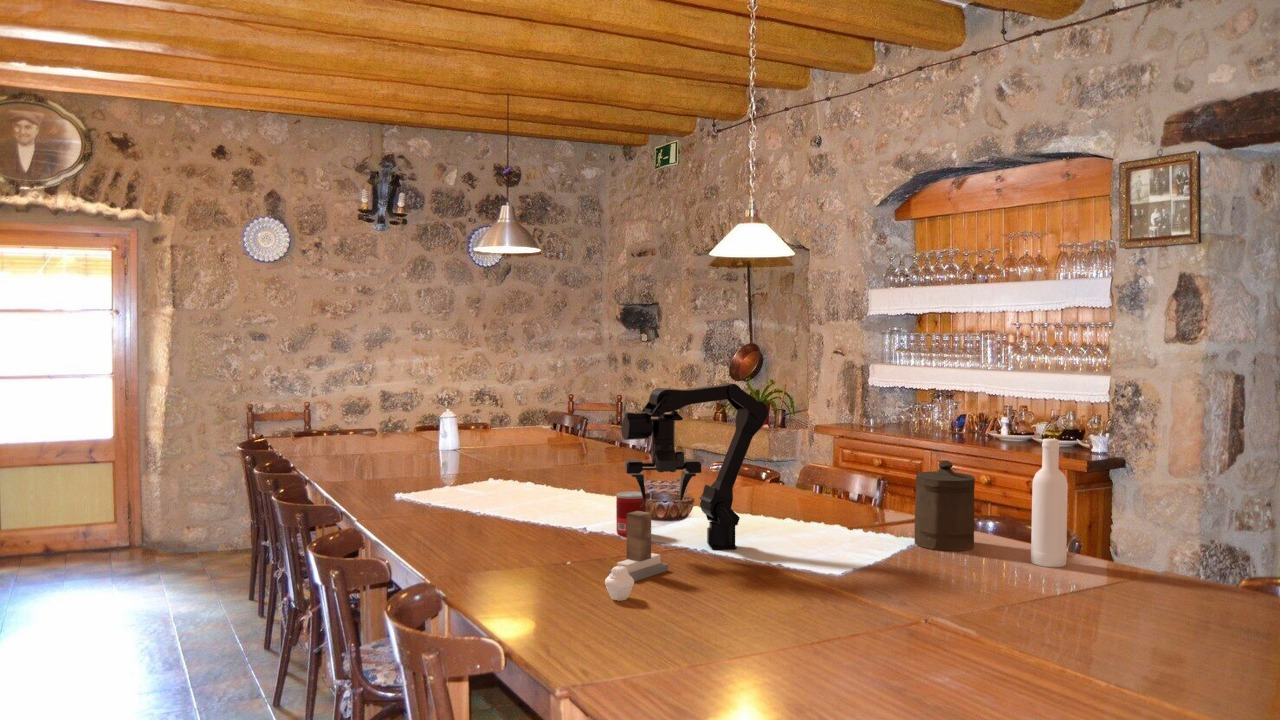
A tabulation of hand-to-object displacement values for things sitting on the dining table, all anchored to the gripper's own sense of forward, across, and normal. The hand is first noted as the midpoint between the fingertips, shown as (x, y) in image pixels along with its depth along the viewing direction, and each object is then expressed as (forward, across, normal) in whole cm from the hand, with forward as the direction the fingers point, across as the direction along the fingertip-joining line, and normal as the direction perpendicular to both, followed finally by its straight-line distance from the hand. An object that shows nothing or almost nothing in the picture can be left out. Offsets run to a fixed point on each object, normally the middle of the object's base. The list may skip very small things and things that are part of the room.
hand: (662, 500), depth 240 cm
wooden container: (+13, +74, +1) cm, 75 cm away
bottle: (+13, +91, -20) cm, 94 cm away
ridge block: (+13, -8, -20) cm, 25 cm away
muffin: (+13, -14, -39) cm, 43 cm away
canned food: (+13, -6, +21) cm, 26 cm away
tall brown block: (+10, -8, -20) cm, 23 cm away
